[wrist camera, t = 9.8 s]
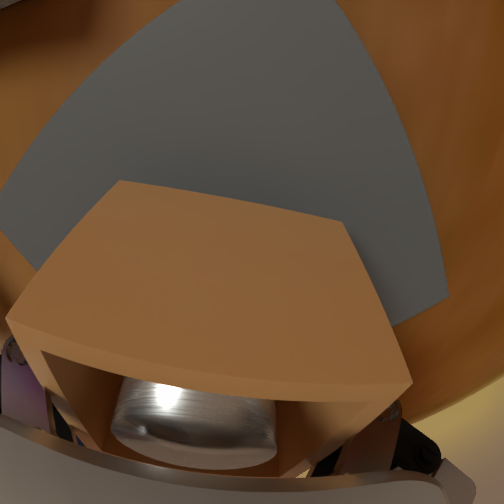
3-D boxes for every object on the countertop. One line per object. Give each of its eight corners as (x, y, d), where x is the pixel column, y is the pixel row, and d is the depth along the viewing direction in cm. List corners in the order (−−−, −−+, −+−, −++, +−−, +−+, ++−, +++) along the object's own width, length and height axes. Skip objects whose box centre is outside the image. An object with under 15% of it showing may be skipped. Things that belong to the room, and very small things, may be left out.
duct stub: (283, 269, 13) (305, 456, 6) (208, 305, 14) (188, 472, 7) (229, 195, 11) (201, 401, 4) (152, 245, 12) (81, 423, 6)
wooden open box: (342, 221, 9) (413, 383, 4) (261, 396, 16) (263, 496, 11) (119, 180, 9) (5, 317, 4) (133, 376, 15) (110, 473, 10)
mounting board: (437, 279, 15) (448, 296, 14) (196, 383, 21) (194, 399, 19) (286, -42, 7) (291, -55, 6) (4, 201, 12) (-12, 213, 11)
